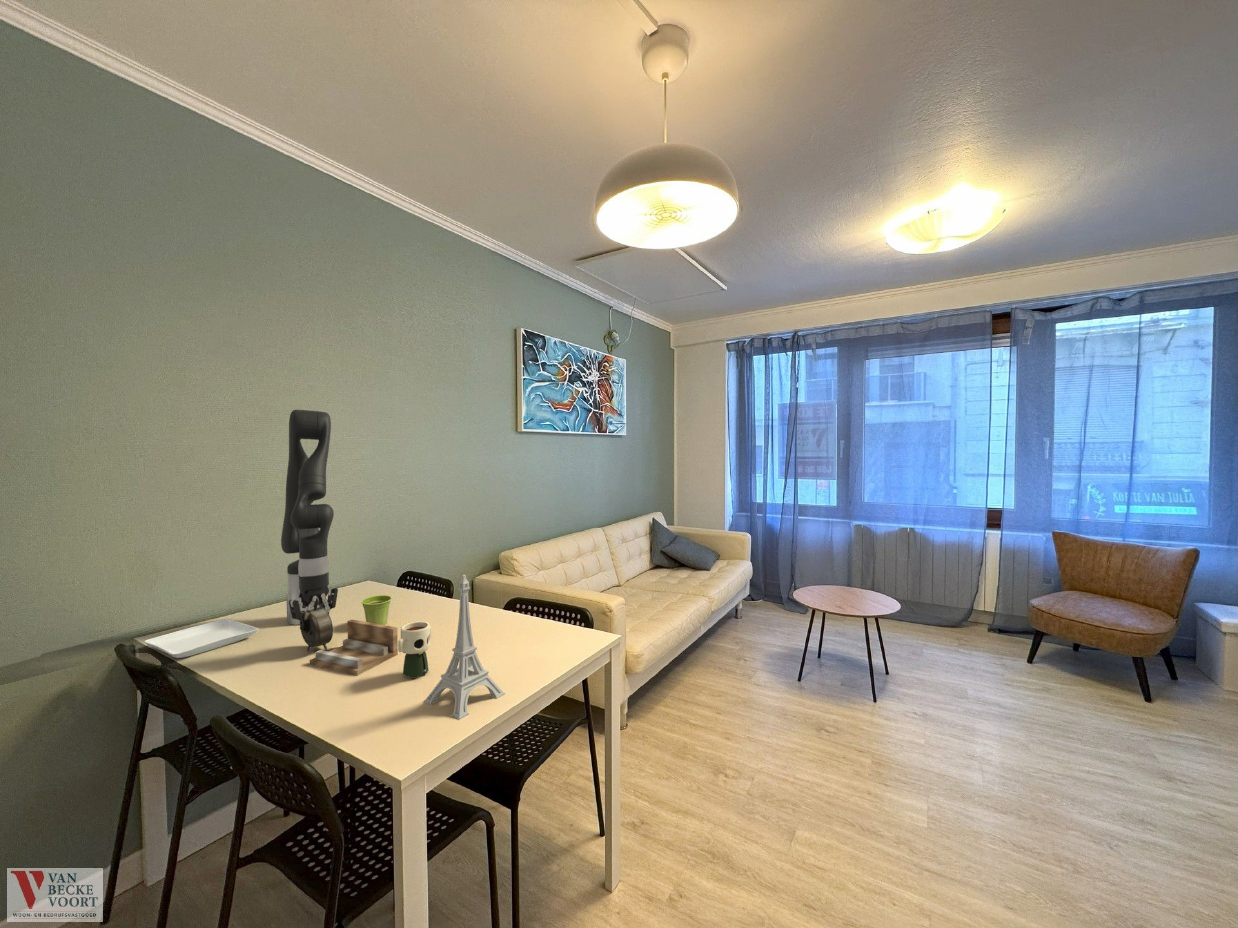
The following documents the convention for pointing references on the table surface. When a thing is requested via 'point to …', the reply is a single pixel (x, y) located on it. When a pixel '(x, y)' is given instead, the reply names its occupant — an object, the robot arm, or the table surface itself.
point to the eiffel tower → (464, 663)
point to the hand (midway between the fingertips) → (314, 627)
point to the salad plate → (201, 638)
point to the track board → (360, 648)
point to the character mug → (415, 647)
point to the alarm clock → (318, 628)
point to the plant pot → (376, 609)
